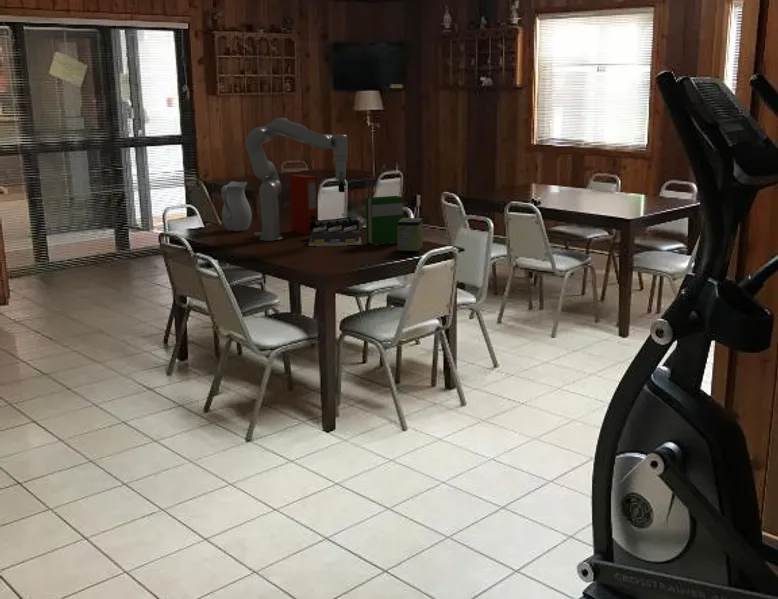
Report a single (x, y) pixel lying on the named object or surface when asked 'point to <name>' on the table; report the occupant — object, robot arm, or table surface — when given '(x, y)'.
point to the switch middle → (334, 228)
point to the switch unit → (335, 238)
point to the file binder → (303, 202)
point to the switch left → (319, 229)
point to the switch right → (350, 228)
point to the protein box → (410, 235)
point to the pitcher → (235, 207)
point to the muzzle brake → (337, 223)
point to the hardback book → (383, 219)
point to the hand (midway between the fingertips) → (341, 191)
